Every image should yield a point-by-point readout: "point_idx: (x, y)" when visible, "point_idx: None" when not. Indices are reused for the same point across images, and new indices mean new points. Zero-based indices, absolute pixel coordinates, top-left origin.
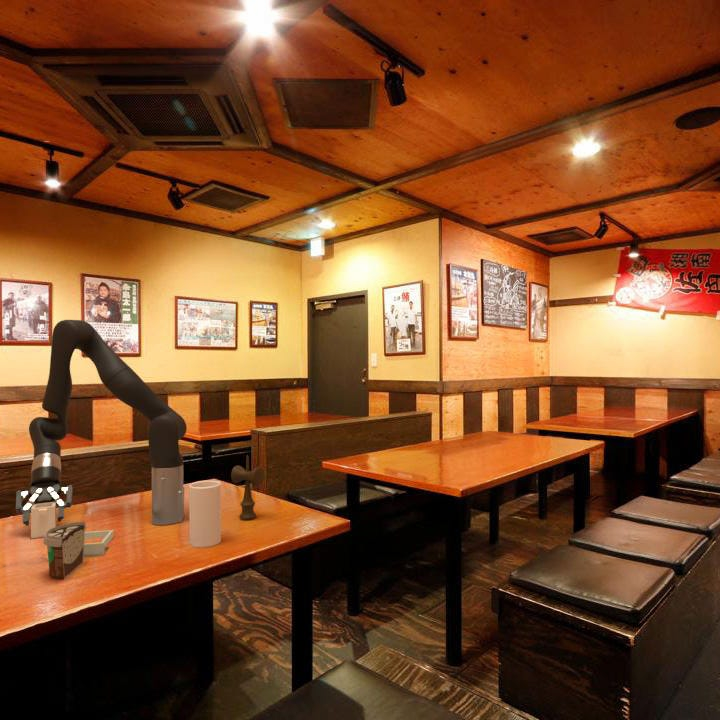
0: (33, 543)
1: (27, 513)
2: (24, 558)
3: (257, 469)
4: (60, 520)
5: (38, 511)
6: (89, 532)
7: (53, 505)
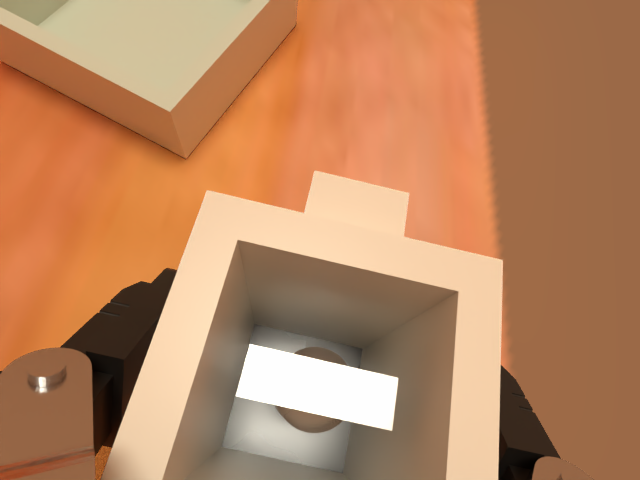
0: None
1: (505, 410)
2: (417, 126)
3: None
4: None
5: (406, 198)
6: (85, 51)
7: (208, 255)
